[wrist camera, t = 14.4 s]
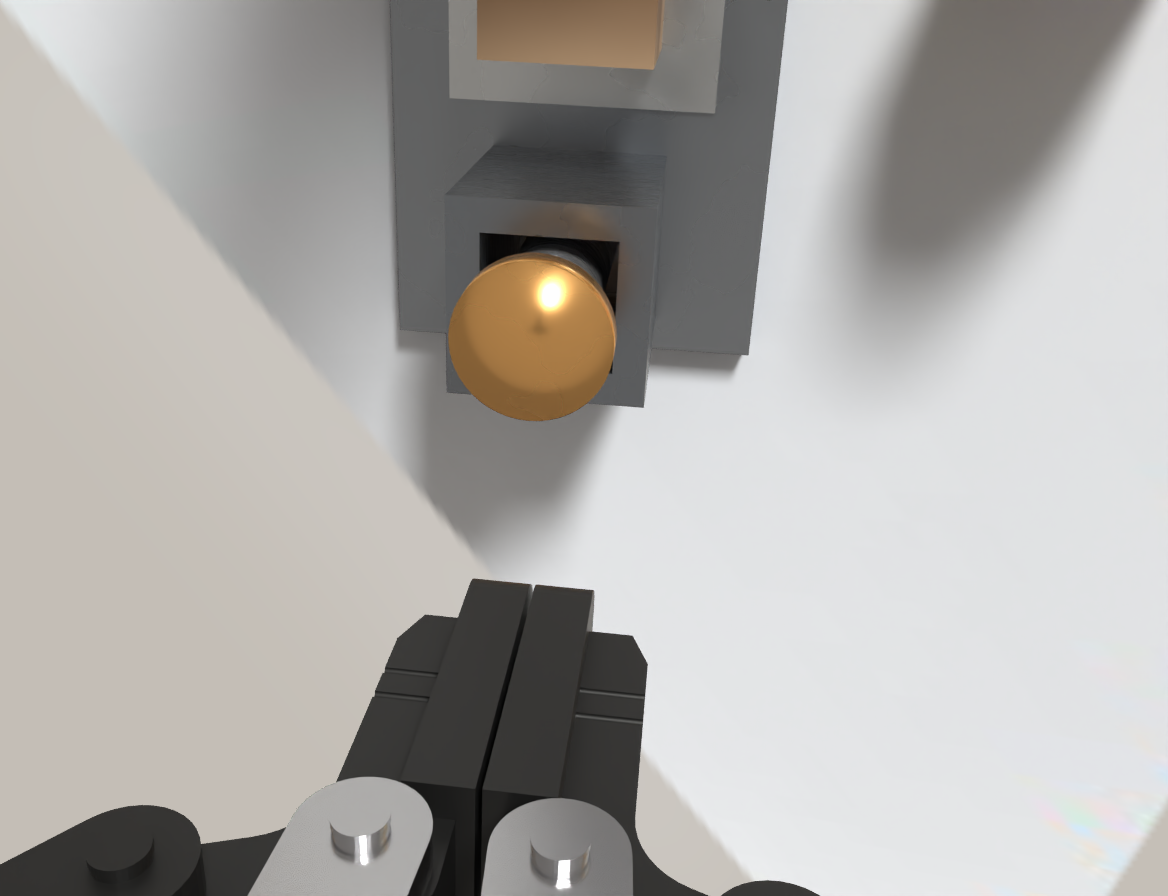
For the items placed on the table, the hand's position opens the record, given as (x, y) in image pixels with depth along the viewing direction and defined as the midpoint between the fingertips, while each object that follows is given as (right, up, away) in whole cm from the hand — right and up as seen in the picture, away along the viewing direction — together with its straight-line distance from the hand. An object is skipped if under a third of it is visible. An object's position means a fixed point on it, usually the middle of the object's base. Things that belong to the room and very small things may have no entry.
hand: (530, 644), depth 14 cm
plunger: (0, +10, +25) cm, 27 cm away
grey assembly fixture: (+1, +15, +25) cm, 29 cm away
